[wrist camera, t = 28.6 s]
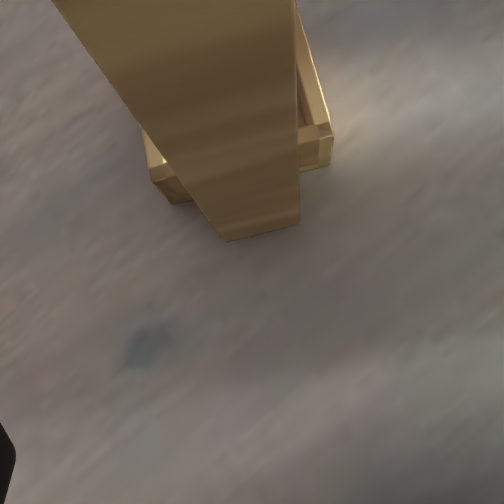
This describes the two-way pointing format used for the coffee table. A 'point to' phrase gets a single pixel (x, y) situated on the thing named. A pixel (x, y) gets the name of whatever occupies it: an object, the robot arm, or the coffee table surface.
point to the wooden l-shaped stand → (215, 100)
